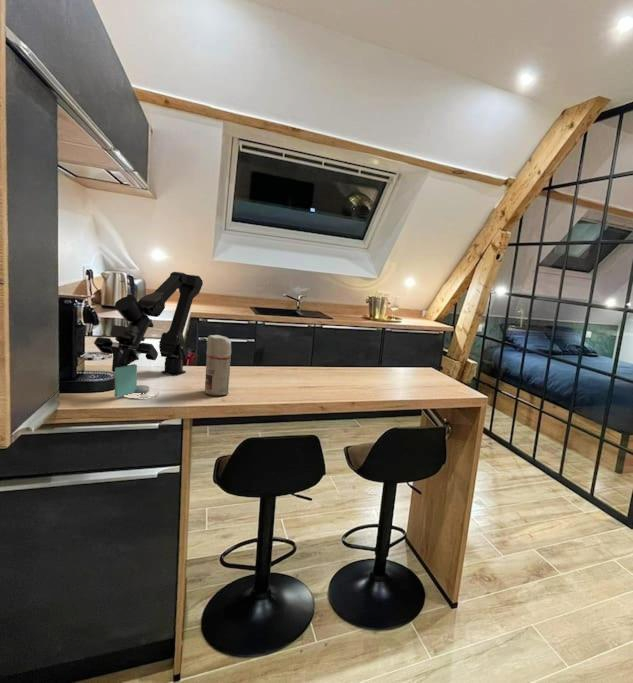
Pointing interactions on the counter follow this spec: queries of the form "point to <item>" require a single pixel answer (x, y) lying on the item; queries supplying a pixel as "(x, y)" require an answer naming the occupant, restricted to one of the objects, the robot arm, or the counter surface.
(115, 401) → the counter surface
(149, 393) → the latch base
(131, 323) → the robot arm
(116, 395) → the teal panel
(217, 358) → the spray can
